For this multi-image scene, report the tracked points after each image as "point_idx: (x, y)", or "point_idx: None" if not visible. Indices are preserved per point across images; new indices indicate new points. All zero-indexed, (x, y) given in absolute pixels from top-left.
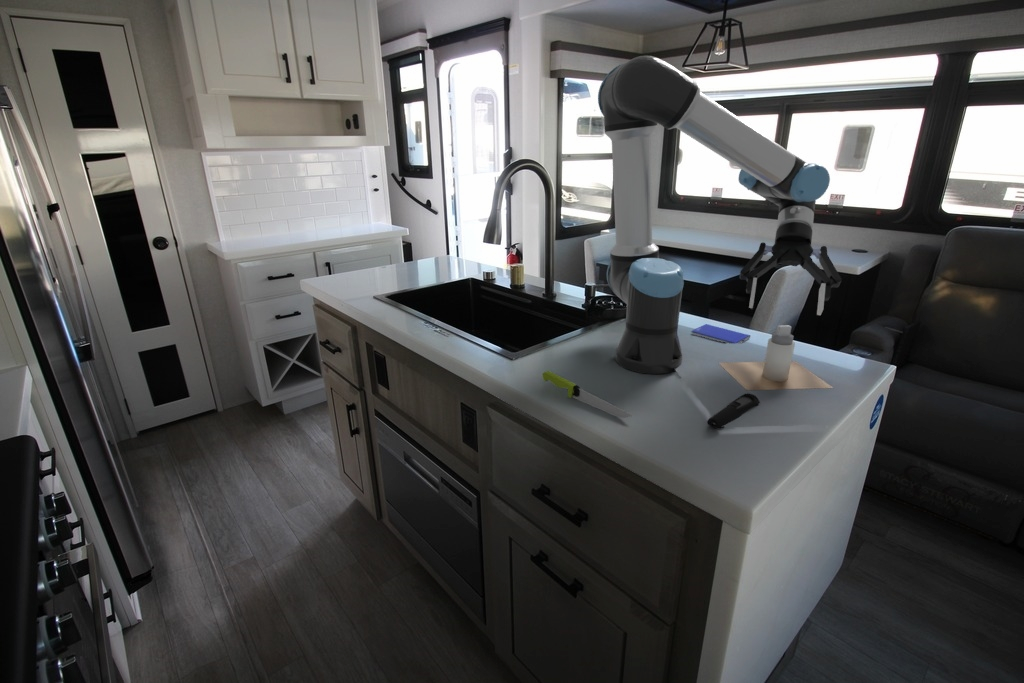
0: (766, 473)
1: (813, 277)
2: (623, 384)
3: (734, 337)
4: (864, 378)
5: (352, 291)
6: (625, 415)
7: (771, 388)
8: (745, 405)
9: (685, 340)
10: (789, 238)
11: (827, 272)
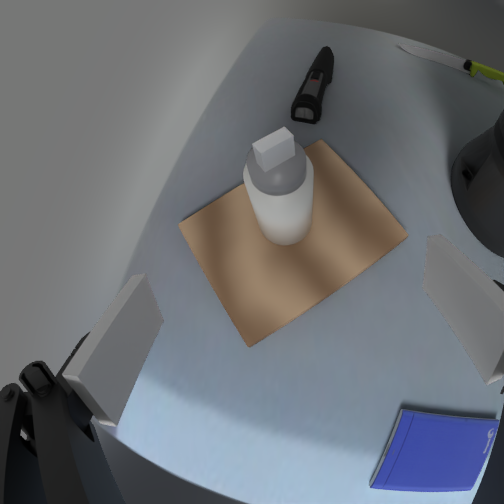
0: (262, 37)
1: (124, 501)
2: (465, 112)
3: (410, 445)
4: None
5: None
6: (405, 48)
7: None
8: (304, 81)
9: None
10: None
11: (38, 491)
